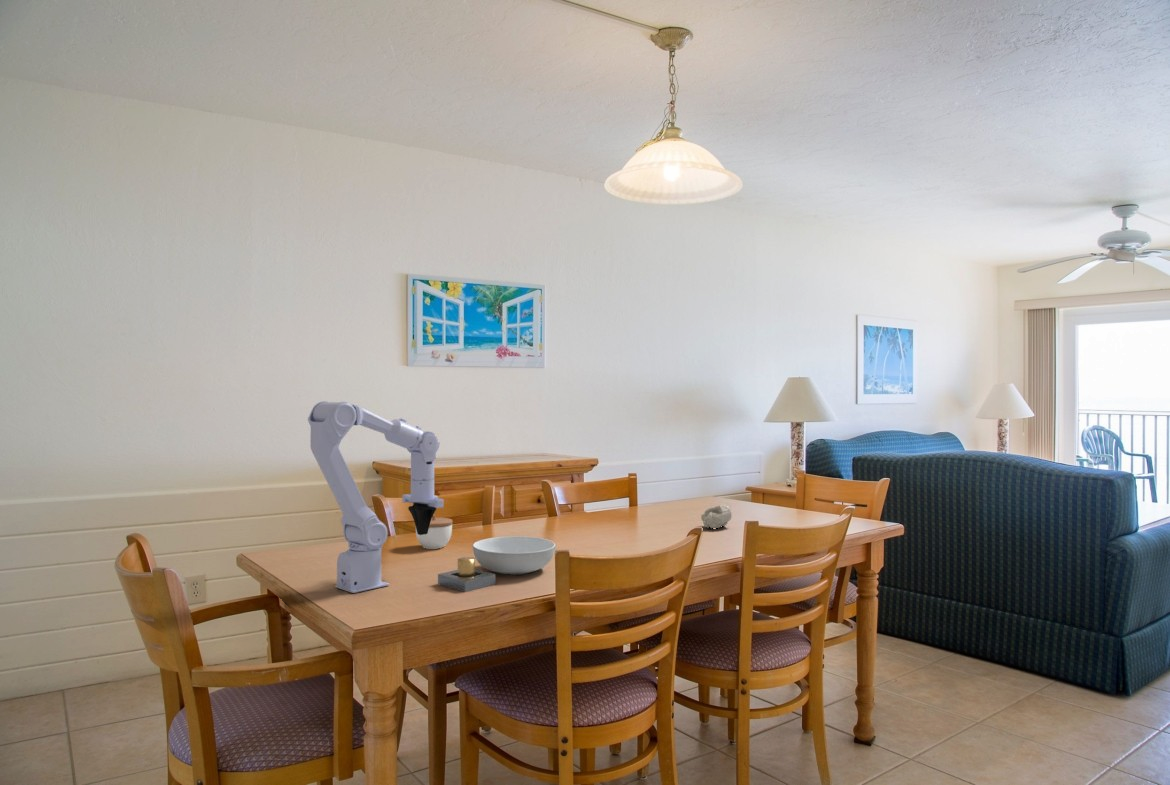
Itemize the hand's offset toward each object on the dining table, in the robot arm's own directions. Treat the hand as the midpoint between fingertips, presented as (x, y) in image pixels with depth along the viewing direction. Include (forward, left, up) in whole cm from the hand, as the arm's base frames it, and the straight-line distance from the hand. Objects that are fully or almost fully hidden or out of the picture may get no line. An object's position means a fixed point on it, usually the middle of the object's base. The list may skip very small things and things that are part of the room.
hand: (422, 534), depth 186 cm
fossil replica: (+105, -19, -10) cm, 107 cm away
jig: (+1, -16, -10) cm, 19 cm away
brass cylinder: (+1, -16, -10) cm, 19 cm away
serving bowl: (+18, -14, -10) cm, 25 cm away
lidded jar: (+22, +25, -10) cm, 35 cm away
